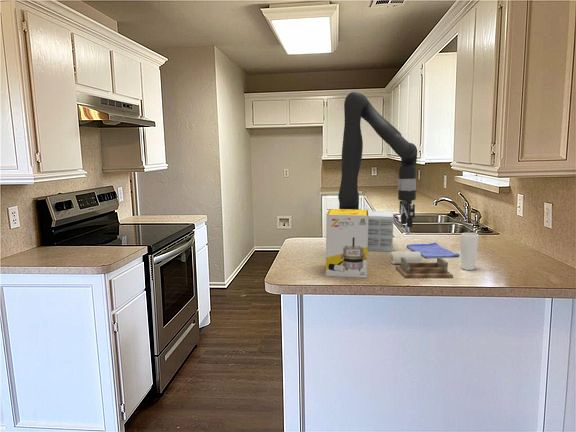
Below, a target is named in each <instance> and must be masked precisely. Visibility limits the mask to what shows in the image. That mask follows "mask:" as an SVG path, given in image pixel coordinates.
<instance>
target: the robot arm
mask: <svg viewBox="0 0 576 432" xmlns="http://www.w3.org/2000/svg"><path fill="white" fill-rule="evenodd" d="M343 108H344V109H343V111H344V115H343V116H344V124H343V125H344V127H343V134H342V137H343V138H342V147H341V179H340V180H341V181H340V187H339V191H338V195H337V196H338V197H337V198H338V204H339V205H338V206H339V207H338V209H351V210H360V209H359V207H360V194H359V193H360V192H359V190H358V187H359V186H358V182H359V181H358V179H359V173H360V169H361V166H362V165H361V164H362V159H363V148H364V142H363V134H362V128H361V120H362V119H363V120H364V121H366V123H368V124H369V125H370V127H372V129H373V130H374V131H375V133H376V135H378V136H379V138H381V139H382V140H383V141H384V142H385V143H386V144H387V145H388V146H390V148H391V149H392V150H393V151H394V153H395V154H396V155H397V156H398V157H400V166H399V169H398V182H397V183H398V184H397V193H398V194H397V199H398V200H399V214H400V219H401V220H400V224H401V225H406V227H407V228H413V220H414V219H415V218H416V215H415V213H416V211H415V210H416V209H415V207H416V206H415V205H416V204H415V203H413V202H412V201H416V200H417V182H416V175H417V174H416V171H417V170H416V169H417V168H416V167H417V166H416V165H417V160H418V148H417V146H416V145H415V144H414V143H413V142H409V141H408V140H407V139H405V138H404V136H402V133H401V132H400V131H399V130H398V129H397V128H396V127H394V126H393V124H391V123H390V122H389V121H388V120H387V119H386V118H385V117H384V116H383V115H382V114H380V113H379V112H378V111H377V110H376V109H375V107H374V106H373V105H372V104H371V102H370V101H369V100H368V98H367V96H366V95H364V94H362V93H360V92H357V91H351V92H349V93H348V94H347V95H346V97H345V99H344V103H343Z"/></svg>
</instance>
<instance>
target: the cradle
mask: <svg viewBox="0 0 576 432" xmlns="http://www.w3.org/2000/svg"><path fill="white" fill-rule="evenodd" d="M448 267H449V262H448V261H446V260H445V258H441V257H437V258H436V262H421V263H410V262H409V261H407V260H406V259H405V258H404V257H401V264H400V265H395V269H396V271H397V272H399V274H400V275H401V276H402V277H403V278H404V279H453V278H454V274H452V273H451V272H450V271H448Z"/></svg>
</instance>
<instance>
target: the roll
mask: <svg viewBox="0 0 576 432" xmlns="http://www.w3.org/2000/svg"><path fill="white" fill-rule="evenodd" d="M401 257H404V258H405V259H406V260H407V261H409V262H410V263H422V256H421V254H420V252H414V251H392V252H390V262H391V264H392V265H401Z"/></svg>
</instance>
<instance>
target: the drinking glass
mask: <svg viewBox="0 0 576 432" xmlns="http://www.w3.org/2000/svg"><path fill="white" fill-rule="evenodd" d="M479 239H480V237H479V234H478V233H475V232H462V233H461V237H460V254H461V255H460V256H461V257H460V258H461V261H460V268H461V269H463V270H465V271H473V270H475V269H476V262H477V261H476V260H477V254H478V248H479V241H480V240H479Z"/></svg>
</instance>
